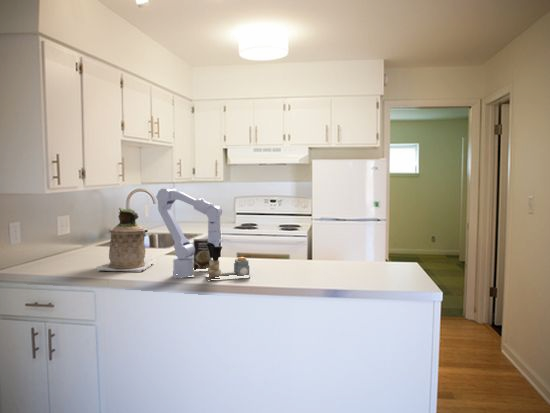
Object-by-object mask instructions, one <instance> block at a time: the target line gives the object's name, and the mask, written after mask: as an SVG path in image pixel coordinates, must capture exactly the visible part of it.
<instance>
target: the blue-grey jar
mask: <svg viewBox="0 0 550 413" xmlns="http://www.w3.org/2000/svg"><path fill="white" fill-rule="evenodd" d="M233 271H235V272H236V275H237V276H244V275H249V276H250V264H249V260H248V259H247V258H245V261H238V258H235V259H234V262H233Z"/></svg>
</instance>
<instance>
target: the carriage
mask: <svg viewBox="0 0 550 413" xmlns="http://www.w3.org/2000/svg"><path fill="white" fill-rule="evenodd" d="M221 272H222V270H221V269H220V260H219V259H218V261H213V259H212V260H210V268H208V271H207V274H209V273H210V276H214V275H221Z"/></svg>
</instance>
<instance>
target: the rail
mask: <svg viewBox="0 0 550 413" xmlns="http://www.w3.org/2000/svg"><path fill="white" fill-rule="evenodd" d="M229 275H236V272H235V271H234V270H233V271H223V272H222V271H221V275H214V276H210V273H209V277H219V276H229Z"/></svg>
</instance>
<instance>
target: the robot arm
mask: <svg viewBox="0 0 550 413" xmlns="http://www.w3.org/2000/svg"><path fill="white" fill-rule="evenodd" d="M155 198H156V200H157V209H158V212H159V215H160V216H161V218H162V221H163V223H164V224H165V226H166V228H167V230H168V232H169V233H170V236H171V238H172V240H173V241H174V245H173V248H174V251H175V252H174V253H175V257H176V258H174V259H173V261H172V262H173V263H172V267H173V268H172V269H173V270H172V275H174V276H173V278H174V279H175V278H179V279H182V278H181V277H188V276H192V275H193V274H194V270H193V254H194V253H195V247H194V245H193V243H191V241H190V240H189V239H188V238H187V237H186V236H185V234H184V232H183V231H182V229H181V227H180V225H179V223H178V221H177V219H176V217H175V216H174V214H173V211H172V206H173V204H174V203H175V201H176V200H178V201H180V202H184V203H185V204H188V205H189V206H192V207H193V209H194V210H195V211H197V212H200V213H202V214H203V215H206V217H207V239H208V242H209V243H207V247H208V249H209V254H210V258H212V260H213V261H218V260H219V259H220V258H219V257H220V254H221V251H222V249H223V246H220V243H223V241H224V240H223V239H221V216H222V214H223V210H222V208H221V206H219V205H218V204H215V205H214V203H213V202H208V201H206V200H205V199H204V198H197V199H196V198H194V197H192V196H190V195H188V194H186V193H185V192H182V191H180V190H179V189H176V188H173V187H170V188H160V189H159V190H158V191H157V194H156V196H155ZM176 274H178V275H176Z"/></svg>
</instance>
